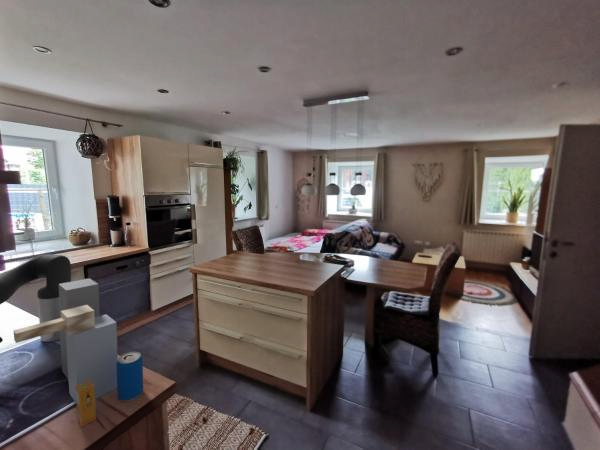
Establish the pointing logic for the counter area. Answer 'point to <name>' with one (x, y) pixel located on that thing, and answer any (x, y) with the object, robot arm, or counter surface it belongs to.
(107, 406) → the counter surface
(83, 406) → the supplement box
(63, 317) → the mallet
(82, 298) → the tall tower
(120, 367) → the beverage can
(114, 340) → the grey tall block
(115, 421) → the counter surface
